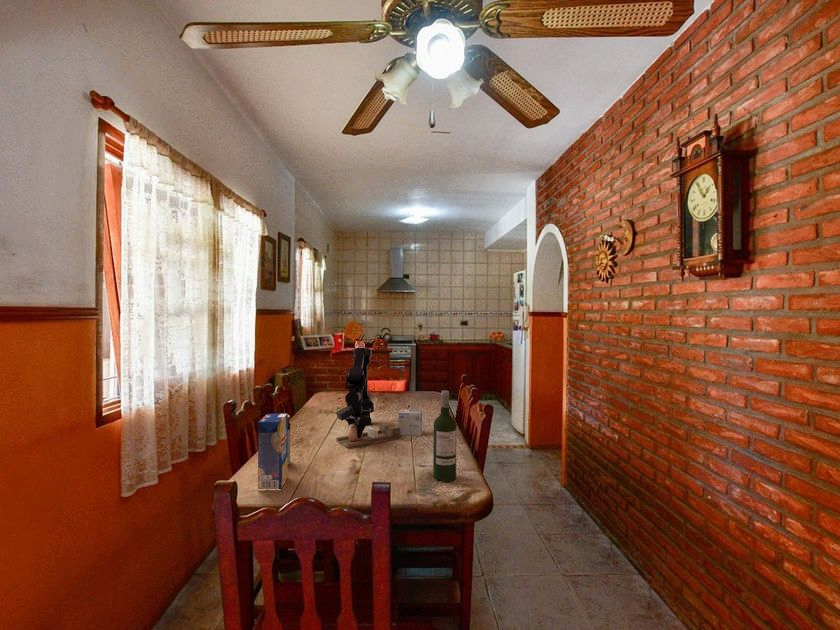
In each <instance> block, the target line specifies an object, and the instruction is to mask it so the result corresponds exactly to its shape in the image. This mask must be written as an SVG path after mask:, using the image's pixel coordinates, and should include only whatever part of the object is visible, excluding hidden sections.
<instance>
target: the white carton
mask: <svg viewBox="0 0 840 630" xmlns="http://www.w3.org/2000/svg"><path fill="white" fill-rule="evenodd" d="M422 411H423V410H422V409H402V408H401V409H399V410H398V417H397V420H398V422H397V423H398V424H397V425H398V426H397V427H399V428H400V436H417V437H421V436H422V432H423V412H422Z"/></svg>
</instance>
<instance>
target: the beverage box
mask: <svg viewBox="0 0 840 630" xmlns="http://www.w3.org/2000/svg"><path fill="white" fill-rule="evenodd" d="M288 415H289V414H288V413H267V414H265V415H264V416H263V417H262V418H261V419H260V420H259V421H258V422H257V426H258V430H257V440H258V441H257V444H258V445H257V446H258V447H257V450H258V451H257V456H258V457H257V490H258V489H281V490H282V488H283V486H284V485H283V483H284V481H285V480H286V481H287V479H288V470H289V469H288V466H289V465H288ZM286 478H287V479H286ZM286 481H285V482H286ZM284 484H285V483H284ZM282 485H283V486H282ZM281 487H282V488H281Z"/></svg>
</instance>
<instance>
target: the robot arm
mask: <svg viewBox="0 0 840 630" xmlns="http://www.w3.org/2000/svg"><path fill="white" fill-rule="evenodd" d="M372 355H373V350H372V349H371V348H370V347H355V348H353V357H354V358H353V365H352V367H351V368H350V369H349V370H348V373H347V374H346V379H345V387H344V388H345V390H348V393H347V394H346V395H345V398H344V400H345V403H346V406H345V407H342V408H341V409H338V410H336V411H335V413H336V417H337V419H338V420H340V421H345V422H346V423H347V425H348V426H349V425H350V424H354V425H355V426H356V430H357V437H358V438H360V437H361V435H362V433H364V431H365V428H366V427H367V426H371V425H373V422H372V419H373V418H372V417H371V414H372V413H374V412H375V406H374V403H373V400H372V395H371V394H370V393H369V380H368V379H369V377H368V376H369V375H368V373H369V371H368V367H369V366H368V365H369V363H370V361H371V358H372Z"/></svg>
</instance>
